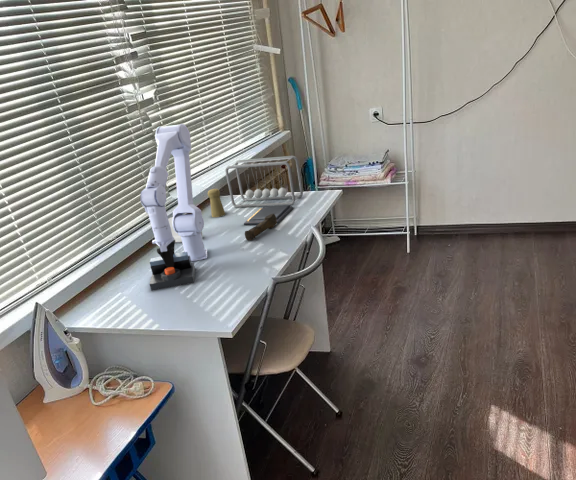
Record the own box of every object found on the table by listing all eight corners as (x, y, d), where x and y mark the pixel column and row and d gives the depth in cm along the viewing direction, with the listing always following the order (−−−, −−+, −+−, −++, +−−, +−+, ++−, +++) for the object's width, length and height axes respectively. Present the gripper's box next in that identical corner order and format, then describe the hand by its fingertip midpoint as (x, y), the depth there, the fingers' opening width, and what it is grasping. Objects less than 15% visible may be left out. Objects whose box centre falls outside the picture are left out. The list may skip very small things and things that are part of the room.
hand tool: (253, 241, 222) (251, 229, 220) (245, 240, 225) (243, 228, 222) (282, 224, 235) (280, 212, 233) (274, 223, 237) (272, 212, 235)
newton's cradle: (232, 208, 266) (223, 166, 257) (242, 200, 274) (234, 160, 265) (295, 205, 254) (288, 161, 245) (304, 197, 262) (298, 155, 253)
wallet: (276, 219, 235) (241, 220, 241) (277, 224, 236) (242, 225, 242) (294, 203, 250) (260, 205, 256) (294, 207, 251) (261, 209, 257)
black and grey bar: (153, 270, 204) (150, 258, 202) (191, 263, 204) (188, 251, 202) (152, 275, 201) (149, 262, 199) (191, 267, 201) (188, 255, 199)
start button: (166, 272, 198) (164, 268, 197) (175, 270, 198) (174, 266, 197) (165, 276, 195) (164, 271, 195) (175, 274, 195) (173, 269, 195)
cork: (224, 216, 257) (219, 190, 251) (210, 218, 258) (204, 192, 252) (226, 212, 262) (220, 186, 257) (212, 214, 263) (206, 188, 257)
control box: (155, 276, 207) (151, 265, 205) (195, 269, 207) (192, 258, 205) (151, 291, 196) (148, 279, 194) (193, 283, 196) (191, 271, 194)
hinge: (160, 243, 238) (157, 216, 236) (166, 243, 243) (164, 217, 240) (198, 241, 233) (196, 214, 231) (204, 240, 237) (201, 214, 235)
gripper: (150, 221, 201) (161, 260, 208) (146, 234, 189) (157, 275, 196) (171, 217, 201) (181, 256, 208) (168, 230, 189) (179, 271, 196)
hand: (171, 265), depth 202 cm, fingers closed on black and grey bar, 4 cm apart
